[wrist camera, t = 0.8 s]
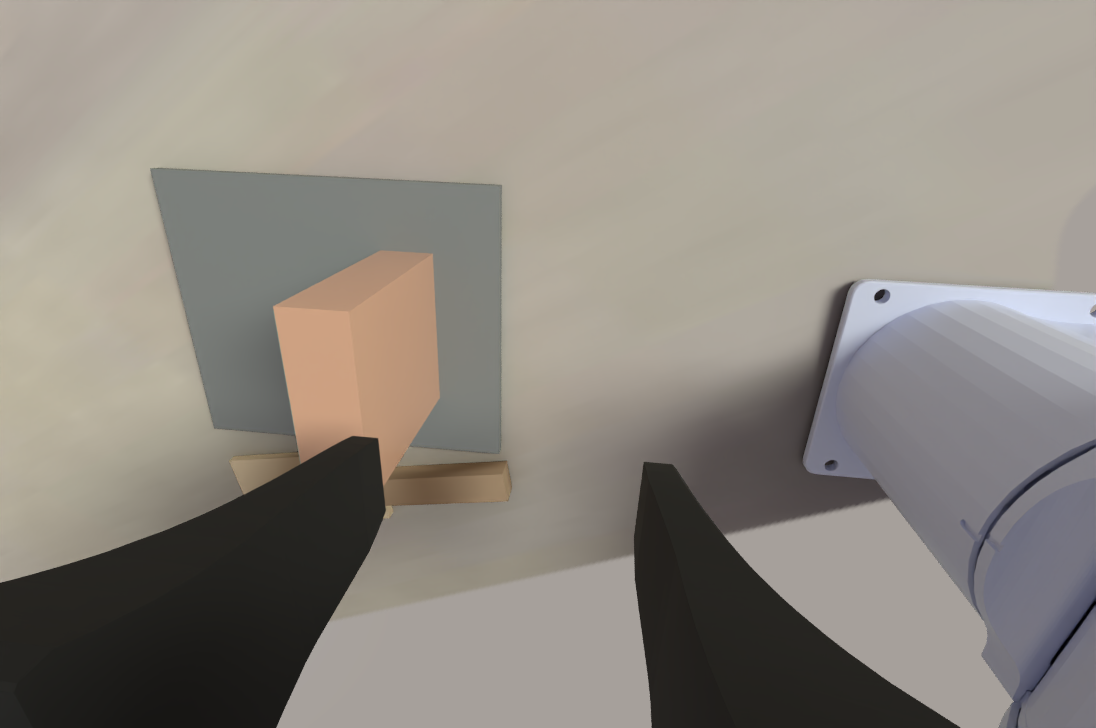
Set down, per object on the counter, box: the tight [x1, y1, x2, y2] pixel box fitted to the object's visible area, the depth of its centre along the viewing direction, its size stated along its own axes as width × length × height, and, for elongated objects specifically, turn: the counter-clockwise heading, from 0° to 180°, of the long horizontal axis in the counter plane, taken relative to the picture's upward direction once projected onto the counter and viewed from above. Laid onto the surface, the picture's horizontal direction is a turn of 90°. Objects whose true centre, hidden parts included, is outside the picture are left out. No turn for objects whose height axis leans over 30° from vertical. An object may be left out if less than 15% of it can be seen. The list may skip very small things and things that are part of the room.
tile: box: [273, 250, 440, 487], centre depth 18 cm, size 2×6×7 cm, turn 178°
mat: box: [150, 168, 502, 454], centre depth 21 cm, size 13×11×1 cm
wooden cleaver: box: [229, 452, 512, 519], centre depth 24 cm, size 13×4×1 cm, turn 98°
